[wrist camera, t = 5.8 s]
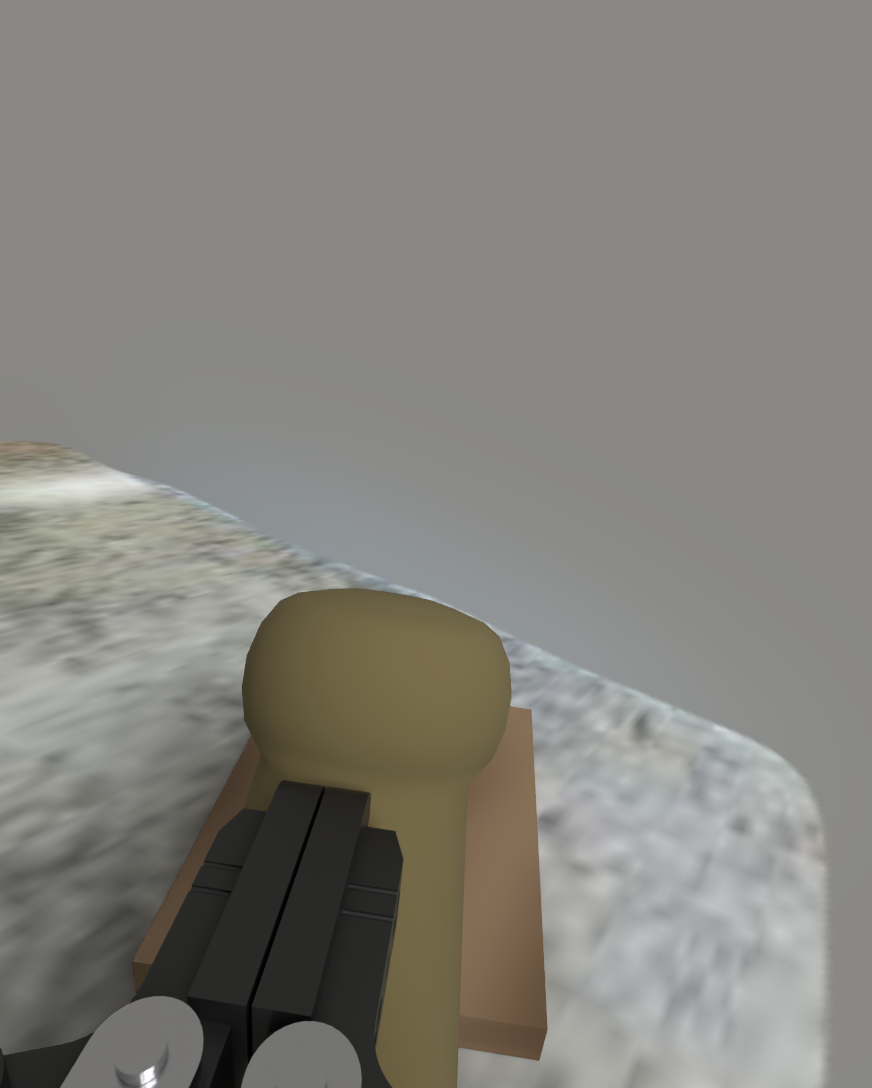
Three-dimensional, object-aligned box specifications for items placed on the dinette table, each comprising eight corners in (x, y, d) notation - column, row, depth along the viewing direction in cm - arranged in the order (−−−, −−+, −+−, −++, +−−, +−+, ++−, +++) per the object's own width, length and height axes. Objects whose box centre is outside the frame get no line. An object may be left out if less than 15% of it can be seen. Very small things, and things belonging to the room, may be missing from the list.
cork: (466, 1367, 10) (583, 637, 10) (59, 1316, 10) (192, 573, 10) (445, 1063, 16) (519, 609, 16) (192, 1028, 16) (273, 568, 16)
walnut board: (136, 993, 17) (132, 960, 16) (283, 699, 28) (284, 675, 27) (539, 1060, 16) (547, 1029, 16) (526, 733, 27) (531, 709, 27)
